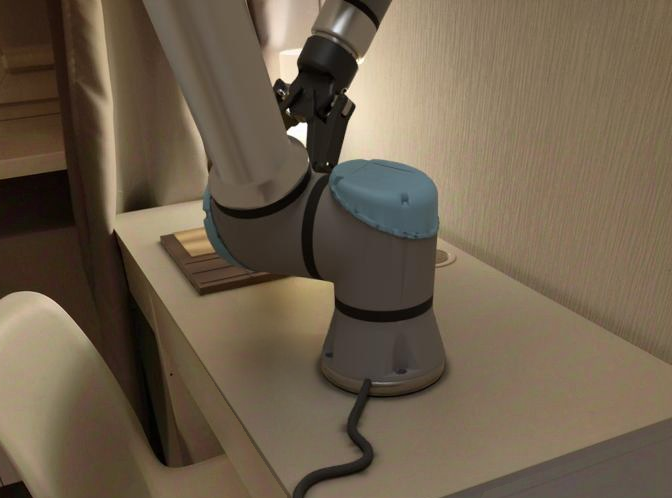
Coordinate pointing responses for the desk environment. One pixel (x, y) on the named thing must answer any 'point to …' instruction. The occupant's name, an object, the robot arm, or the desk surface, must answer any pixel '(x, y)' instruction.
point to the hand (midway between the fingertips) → (257, 212)
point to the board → (208, 263)
